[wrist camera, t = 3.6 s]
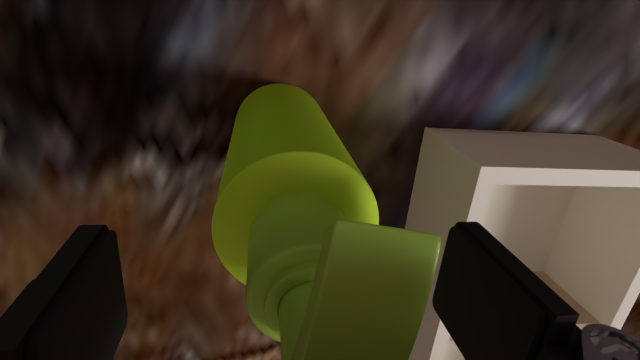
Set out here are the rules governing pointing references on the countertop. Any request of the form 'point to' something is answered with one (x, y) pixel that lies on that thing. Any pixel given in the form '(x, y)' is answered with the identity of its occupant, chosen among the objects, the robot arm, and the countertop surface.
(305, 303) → the soap dispenser
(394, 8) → the countertop surface
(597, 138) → the caddy
